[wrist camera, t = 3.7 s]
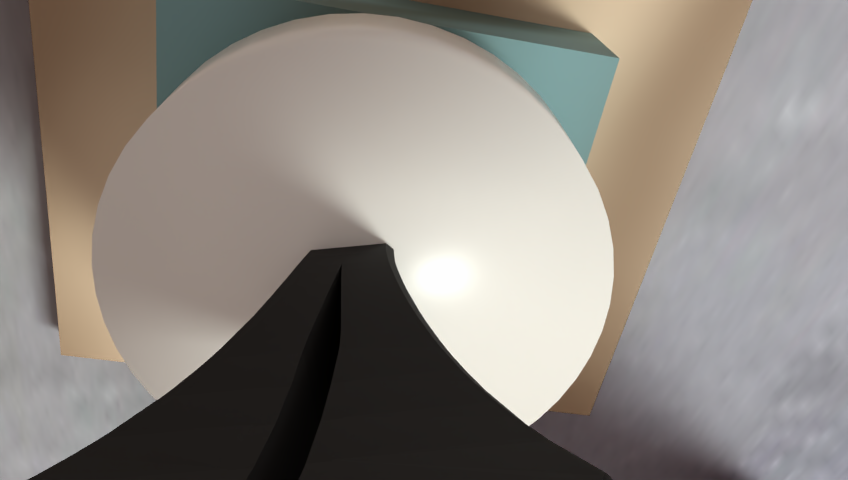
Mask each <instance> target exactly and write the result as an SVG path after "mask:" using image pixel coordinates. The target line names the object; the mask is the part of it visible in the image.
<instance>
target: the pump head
mask: <svg viewBox="0 0 848 480" xmlns="http://www.w3.org/2000/svg"><path fill="white" fill-rule="evenodd" d="M383 243H386V244H388V245H389V246H390V247H391V248H393V249H394V257H395V263H396V266H397V269H398V271H399V274H400V276H401V278H402V281H403V283H404V285H405V287H406V289H407V291H408V292H409V294H410V296H411V298H412V299H413V301H414V303H415V305H416V306H417V308H418V310H419V311H420V313H421V314H422V316H423V317H424V319H425V321H426V322H427V323H428V325H429V326H430V328H431V329H432V330H433V332H434V333H435V334H436V336H437V337H438V339H439V340H440V341H441V342H442V344H443V345H444V346H445V347H446V349H447V350H448V351H449V352H450V353H451V355H452V356H453V357H454V358H455V359H456V360H457V361H458V362H459V364H460V365H461V366H462V367H463V368H464V369H465V370H466V371H467V372H468V373H469V374H470V375H471V376H472V377H473V378H474V379H475V380H476V381H477V382H478V383H479V384H480V385H481V386H482V387H483V388H484V389H485V390H486V391H487V392H488V393H489V394H491V395H492V396H493V397H494V398H495V399H497V400H498V401H499V402H500V403H501V404H503V405H504V406H505V407H506V408H507V409H509V410H510V411H511V412H512V413H513V414H515V415H516V416H517V417H518V418H519V419H521V420H522V421H523V422H524V423H525V424H527V425H528V426H530V425H531V424H532V423H534V422H535V421H536V420H538V419H539V418H540V417H541V416H542V415H543V414H544V413H545V412H547V411H548V410H549V409H550V408H551V407H552V406H553V405H554V404H555V403H556V402H557V401H558V400H559V399H560V398H561V397H562V396H563V394H564V393H565V392H566V391H567V390H568V388H569V387H570V386H571V385H572V384H573V382H574V381H575V380H576V379H577V377H578V376H579V374H580V372H581V371H582V369H583V368H584V366H585V365H586V363H587V361H588V360H589V358H590V357H591V355H592V352H593V350H594V348H595V346H596V344H597V342H598V339H599V337H600V335H601V333H602V330H603V327H604V323H605V320H606V317H607V313H608V310H609V306H610V301H611V294H612V287H613V279H614V257H613V243H612V237H611V232H610V226H609V220H608V217H607V214H606V211H605V208H604V205H603V202H602V199H601V196H600V193H599V190H598V188H597V186H596V184H595V182H594V180H593V178H592V177H591V175H590V173H589V171H588V169H587V167H586V165H585V163H584V161H583V160H582V158H581V156H580V155H579V153H578V152H577V150H576V148H575V147H574V145H573V143H572V142H571V140H570V139H569V137H568V135H567V134H566V132H565V130H564V129H563V127H562V126H561V124H560V122H559V121H558V119H557V118H556V117H555V115H554V114H553V113H552V111H551V110H550V108H549V107H548V106H547V104H546V103H545V102H544V100H543V99H542V98H541V96H540V95H539V94H538V93H537V92H536V91H535V90H534V89H533V88H532V87H531V86H530V85H529V84H528V83H527V82H526V81H525V80H524V79H523V78H522V77H521V76H520V75H519V74H518V73H517V72H515V71H514V70H513V69H512V68H510V67H509V66H508V65H506V64H505V63H504V62H502V61H501V60H500V59H498V58H497V57H496V56H495V55H493V54H492V53H490V52H488V51H486V50H484V49H483V48H481V47H479V46H477V45H476V44H474V43H472V42H470V41H469V40H467V39H465V38H463V37H460V36H458V35H455V34H453V33H450V32H448V31H445V30H443V29H440V28H438V27H435V26H433V25H429V24H425V23H421V22H417V21H413V20H409V19H405V18H401V17H394V16H385V15H376V14H367V13H350V14H326V15H320V16H314V17H308V18H301V19H295V20H292V21H289V22H285V23H282V24H279V25H276V26H272V27H269V28H266V29H263V30H260V31H258V32H256V33H254V34H252V35H250V36H248V37H246V38H243V39H241V40H239V41H237V42H235V43H233V44H231V45H230V46H228V47H227V48H225V49H224V50H222V51H221V52H219V53H218V54H216V55H215V56H213V57H212V58H210V59H209V60H207V61H206V62H204V63H203V64H202V65H201V66H200V67H199V68H198V69H197V70H196V71H194V72H193V73H192V74H191V75H190V76H189V77H188V78H187V79H186V80H185V81H183V82H182V83H181V84H180V85H179V86H178V87H177V88H176V89H175V90H174V92H173V93H172V94H171V95H170V96H169V97H168V98H167V99H166V100H165V101H164V102H163V103H162V104H161V105H160V106H159V107H158V108H157V109H156V110H155V111H154V112H153V113H152V114H151V115H150V116H149V117H148V118H147V119H146V121H145V122H144V123H143V124H142V126H141V127H140V128H139V129H138V131H137V132H136V133H135V134H134V136H133V137H132V138H131V139H130V141H129V142H128V143H127V144H126V146H125V147H124V149H123V151H122V152H121V154H120V156H119V158H118V159H117V161H116V163H115V165H114V166H113V168H112V170H111V172H110V174H109V176H108V178H107V181H106V184H105V187H104V189H103V192H102V195H101V197H100V200H99V203H98V207H97V212H96V217H95V223H94V228H93V234H92V271H93V278H94V285H95V292H96V297H97V300H98V303H99V307H100V310H101V313H102V317H103V320H104V323H105V325H106V327H107V329H108V331H109V334H110V336H111V338H112V340H113V342H114V344H115V346H116V349H117V350H118V352H119V353H120V355H121V356H122V358H123V359H124V361H125V363H126V364H127V366H128V367H129V369H130V370H131V372H132V373H133V374H134V376H135V377H136V378H137V379H138V380H139V382H140V383H141V384H142V385H143V386H144V388H145V389H146V390H147V391H148V392H149V393H150V395H151V396H152V397H154V398H155V399H156V400H158V399H159V398H161V397H162V396H164V395H165V394H166V393H168V392H169V391H170V390H172V389H173V388H174V387H175V386H177V385H178V384H179V383H180V382H182V381H183V380H184V379H185V378H187V377H188V376H189V375H190V374H192V373H193V372H194V371H195V370H197V369H198V368H199V367H200V366H201V365H202V364H204V363H205V362H206V361H207V360H208V359H209V358H211V357H212V356H213V355H214V354H215V353H216V352H217V351H218V350H219V349H221V348H222V347H223V346H224V345H225V344H226V343H227V342H228V341H229V340H230V339H231V338H232V337H233V336H234V335H235V334H236V333H237V332H238V331H239V330H240V329H241V328H242V327H243V326H244V325H245V324H246V323H247V322H248V321H249V320H250V319H251V318H252V317H253V316H254V315H255V314H256V312H257V311H258V310H259V309H260V308H261V307H262V306H263V305H264V303H265V302H266V301H267V300H268V299H269V298H270V297H271V296H272V295H273V293H274V292H275V291H276V290H277V289H278V288H279V286H280V285H281V284H282V283H283V282H284V281H285V279H286V278H287V277H288V276H289V275H290V273H291V272H292V271H293V270H294V269H295V267H296V266H297V265H298V264H299V263H300V262H301V260H302V259H303V258H304V257H305V256H306V255H307V254H308V253H309V251H310V250H317V249H328V248H339V247H350V246H361V245H372V244H383Z"/></svg>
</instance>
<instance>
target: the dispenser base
mask: <svg viewBox="0 0 848 480" xmlns="http://www.w3.org/2000/svg"><path fill="white" fill-rule="evenodd" d="M28 1H29V12H30V23H31V33H32V44H33V55H34V66H35V77H36V88H37V99H38V109H39V120H40V131H41V142H42V153H43V164H44V174H45V185H46V196H47V207H48V218H49V229H50V239H51V250H52V261H53V272H54V283H55V294H56V305H57V315H58V326H59V337H60V348H61V355H67V356H76V357H84V358H93V359H102V360H110V361H119V362H125V361H124V359H123V358H122V356H121V355H120V353H119V352H118V350H117V349H116V346H115V344H114V342H113V340H112V338H111V336H110V334H109V331H108V329H107V327H106V325H105V323H104V320H103V317H102V313H101V310H100V307H99V303H98V300H97V297H96V292H95V285H94V278H93V271H92V234H93V228H94V223H95V217H96V212H97V207H98V203H99V200H100V197H101V195H102V192H103V189H104V187H105V184H106V181H107V178H108V176H109V174H110V172H111V170H112V168H113V166H114V165H115V163H116V161H117V159H118V158H119V156H120V154H121V152H122V151H123V149H124V147H125V146H126V144H127V143H128V142H129V141H130V139H131V138H132V137H133V136H134V134H135V133H136V132H137V131H138V129H139V128H140V127H141V126H142V124H143V123H144V122H145V121H146V119H147V118H148V117H149V116H150V115H151V114H152V113H153V112H154V111H155V110H156V109H157V108H158V107H159V106H160V105H161V104H162V103H163V102H164V101H165V100H166V99H167V98H168V97H169V96H170V95H171V94H172V93H173V92H174V90H175V89H176V88H177V87H178V86H179V85H180V84H181V83H182V82H183V81H185V80H186V79H187V78H188V77H189V76H190V75H191V74H192V73H193V72H194V71H196V70H197V69H198V68H199V67H200V66H201V65H202V64H203V63H204V62H206V61H207V60H209V59H210V58H212V57H213V56H215V55H216V54H218V53H219V52H221V51H222V50H224V49H225V48H227V47H228V46H230V45H231V44H233V43H235V42H237V41H239V40H241V39H243V38H246V37H248V36H250V35H252V34H254V33H256V32H258V31H260V30H263V29H266V28H269V27H272V26H276V25H279V24H282V23H285V22H289V21H292V20H295V19H301V18H308V17H314V16H320V15H326V14H350V13H367V14H376V15H385V16H394V17H401V18H405V19H409V20H413V21H417V22H421V23H425V24H429V25H433V26H435V27H438V28H440V29H443V30H445V31H448V32H450V33H453V34H455V35H458V36H460V37H463V38H465V39H467V40H469V41H470V42H472V43H474V44H476V45H477V46H479V47H481V48H483V49H484V50H486V51H488V52H490V53H492V54H493V55H495V56H496V57H497V58H498V59H500V60H501V61H502V62H504V63H505V64H506V65H508V66H509V67H510V68H512V69H513V70H514V71H515V72H517V73H518V74H519V75H520V76H521V77H522V78H523V79H524V80H525V81H526V82H527V83H528V84H529V85H530V86H531V87H532V88H533V89H534V90H535V91H536V92H537V93H538V94H539V95H540V96H541V98H542V99H543V100H544V102H545V103H546V104H547V106H548V107H549V108H550V110H551V111H552V113H553V114H554V115H555V117H556V118H557V119H558V121H559V122H560V124H561V126H562V127H563V129H564V130H565V132H566V134H567V135H568V137H569V139H570V140H571V142H572V143H573V145H574V147H575V148H576V150H577V152H578V153H579V155H580V156H581V158H582V160H583V161H584V163H585V165H586V167H587V169H588V171H589V173H590V175H591V177H592V178H593V180H594V182H595V184H596V186H597V188H598V190H599V193H600V196H601V199H602V202H603V205H604V208H605V211H606V214H607V217H608V220H609V226H610V232H611V237H612V243H613V257H614V279H613V287H612V294H611V301H610V306H609V310H608V313H607V317H606V320H605V323H604V327H603V330H602V333H601V335H600V337H599V339H598V342H597V344H596V346H595V348H594V350H593V352H592V355H591V357H590V358H589V360H588V361H587V363H586V365H585V366H584V368H583V369H582V371H581V372H580V374H579V376H578V377H577V379H576V380H575V381H574V382H573V384H572V385H571V386H570V387H569V388H568V390H567V391H566V392H565V393H564V394H563V396H562V397H561V398H560V399H559V400H558V401H557V402H556V403H555V404H554V405H553V406H552V407H551V408H550V409H549V410H548V411H554V412H562V413H571V414H580V415H588V416H589V415H590V413H591V410H592V407H593V405H594V402H595V400H596V397H597V395H598V392H599V390H600V387H601V385H602V382H603V379H604V377H605V374H606V372H607V369H608V367H609V364H610V362H611V359H612V357H613V354H614V351H615V349H616V346H617V344H618V341H619V339H620V336H621V334H622V331H623V329H624V326H625V323H626V321H627V318H628V316H629V313H630V311H631V308H632V306H633V303H634V301H635V298H636V295H637V293H638V290H639V288H640V285H641V283H642V280H643V278H644V275H645V273H646V270H647V267H648V265H649V262H650V260H651V257H652V255H653V252H654V250H655V247H656V245H657V242H658V239H659V237H660V234H661V232H662V229H663V227H664V224H665V222H666V219H667V217H668V214H669V211H670V209H671V206H672V204H673V201H674V199H675V196H676V194H677V191H678V189H679V186H680V183H681V181H682V178H683V176H684V173H685V171H686V168H687V166H688V163H689V161H690V158H691V155H692V153H693V150H694V148H695V145H696V143H697V140H698V138H699V135H700V133H701V130H702V127H703V125H704V122H705V120H706V117H707V115H708V112H709V110H710V107H711V105H712V102H713V99H714V97H715V94H716V92H717V89H718V87H719V84H720V82H721V79H722V77H723V74H724V71H725V69H726V66H727V64H728V61H729V59H730V56H731V54H732V51H733V49H734V46H735V44H736V41H737V38H738V36H739V33H740V31H741V28H742V26H743V23H744V21H745V18H746V16H747V13H748V10H749V8H750V5H751V3H752V0H28Z"/></svg>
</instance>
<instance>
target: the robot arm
mask: <svg viewBox="0 0 848 480" xmlns="http://www.w3.org/2000/svg"><path fill="white" fill-rule="evenodd" d="M28 480H612V479H611V477H610V476H609V475H608V474H606V473H605V472H603V471H601V470H600V469H598V468H596V467H594V466H593V465H591V464H589V463H588V462H586V461H584V460H582V459H581V458H579V457H577V456H575V455H574V454H572V453H570V452H568V451H567V450H565V449H563V448H562V447H560V446H558V445H556V444H555V443H553V442H551V441H550V440H548V439H546V438H545V437H544V436H542V435H541V434H539V433H538V432H537V431H535V430H534V429H532V428H531V427H530V426H528V425H527V424H525V423H524V422H523V421H522V420H521V419H519V418H518V417H517V416H516V415H515V414H513V413H512V412H511V411H510V410H509V409H507V408H506V407H505V406H504V405H503V404H501V403H500V402H499V401H498V400H497V399H495V398H494V397H493V396H492V395H491V394H489V393H488V392H487V391H486V390H485V389H484V388H483V387H482V386H481V385H480V384H479V383H478V382H477V381H476V380H475V379H474V378H473V377H472V376H471V375H470V374H469V373H468V372H467V371H466V370H465V369H464V368H463V367H462V366H461V365H460V364H459V362H458V361H457V360H456V359H455V358H454V357H453V356H452V355H451V353H450V352H449V351H448V350H447V349H446V347H445V346H444V345H443V344H442V342H441V341H440V340H439V339H438V337H437V336H436V334H435V333H434V332H433V330H432V329H431V328H430V326H429V325H428V323H427V322H426V321H425V319H424V317H423V316H422V314H421V313H420V311H419V310H418V308H417V306H416V305H415V303H414V301H413V299H412V298H411V296H410V294H409V292H408V291H407V289H406V287H405V285H404V283H403V281H402V278H401V276H400V274H399V271H398V269H397V266H396V263H395V257H394V249H393V248H391V247H390V246H389V245H388V244H386V243H383V244H372V245H361V246H350V247H339V248H328V249H317V250H310V251H309V253H308V254H307V255H306V256H305V257H304V258H303V259H302V260H301V262H300V263H299V264H298V265H297V266H296V267H295V269H294V270H293V271H292V272H291V273H290V275H289V276H288V277H287V278H286V279H285V281H284V282H283V283H282V284H281V285H280V286H279V288H278V289H277V290H276V291H275V292H274V293H273V295H272V296H271V297H270V298H269V299H268V300H267V301H266V302H265V303H264V305H263V306H262V307H261V308H260V309H259V310H258V311H257V312H256V314H255V315H254V316H253V317H252V318H251V319H250V320H249V321H248V322H247V323H246V324H245V325H244V326H243V327H242V328H241V329H240V330H239V331H238V332H237V333H236V334H235V335H234V336H233V337H232V338H231V339H230V340H229V341H228V342H227V343H226V344H225V345H224V346H223V347H222V348H221V349H219V350H218V351H217V352H216V353H215V354H214V355H213V356H212V357H211V358H209V359H208V360H207V361H206V362H205V363H204V364H202V365H201V366H200V367H199V368H198V369H197V370H195V371H194V372H193V373H192V374H190V375H189V376H188V377H187V378H185V379H184V380H183V381H182V382H180V383H179V384H178V385H177V386H175V387H174V388H173V389H172V390H170V391H169V392H168V393H166V394H165V395H164V396H162V397H161V398H159V399H158V400H156V401H155V402H154V403H152V404H151V405H149V406H148V407H146V408H145V409H143V410H142V411H140V412H139V413H137V414H136V415H135V416H133V417H132V418H130V419H129V420H127V421H126V422H124V423H123V424H121V425H120V426H118V427H117V428H116V429H114V430H113V431H111V432H110V433H108V434H106V435H105V436H103V437H102V438H100V439H98V440H97V441H95V442H93V443H92V444H90V445H88V446H87V447H85V448H83V449H82V450H80V451H78V452H77V453H75V454H73V455H72V456H70V457H68V458H66V459H65V460H63V461H61V462H59V463H57V464H56V465H54V466H52V467H50V468H48V469H47V470H45V471H43V472H41V473H39V474H38V475H36V476H34V477H32V478H30V479H28Z"/></svg>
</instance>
